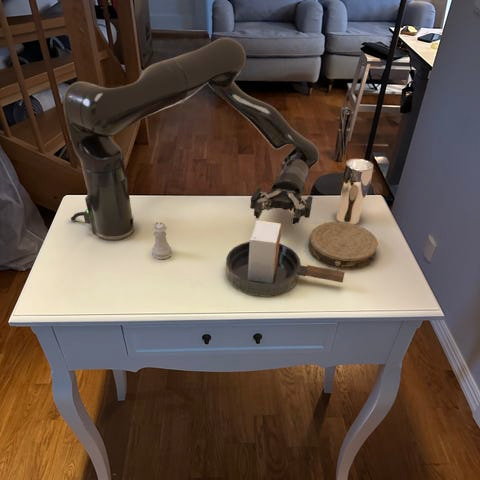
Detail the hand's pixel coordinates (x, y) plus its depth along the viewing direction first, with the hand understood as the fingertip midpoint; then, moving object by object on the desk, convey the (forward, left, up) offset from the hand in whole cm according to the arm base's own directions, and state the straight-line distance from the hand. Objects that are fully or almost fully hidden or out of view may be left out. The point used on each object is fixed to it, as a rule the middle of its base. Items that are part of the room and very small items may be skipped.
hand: (275, 218), depth 102 cm
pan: (0, -10, -8) cm, 13 cm away
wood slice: (+16, +5, -9) cm, 19 cm away
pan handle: (+13, -10, -6) cm, 17 cm away
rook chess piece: (-24, -10, -9) cm, 27 cm away
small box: (0, -10, -8) cm, 13 cm away
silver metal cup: (+16, +20, -9) cm, 27 cm away
